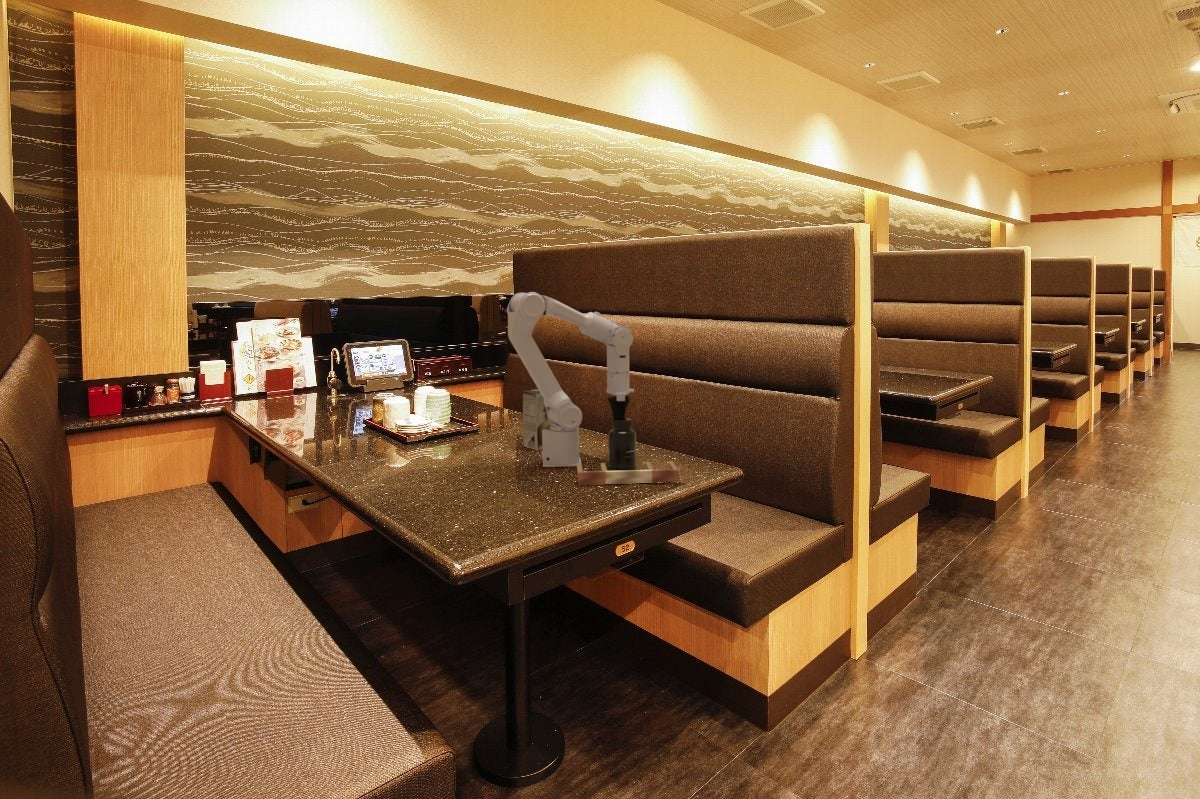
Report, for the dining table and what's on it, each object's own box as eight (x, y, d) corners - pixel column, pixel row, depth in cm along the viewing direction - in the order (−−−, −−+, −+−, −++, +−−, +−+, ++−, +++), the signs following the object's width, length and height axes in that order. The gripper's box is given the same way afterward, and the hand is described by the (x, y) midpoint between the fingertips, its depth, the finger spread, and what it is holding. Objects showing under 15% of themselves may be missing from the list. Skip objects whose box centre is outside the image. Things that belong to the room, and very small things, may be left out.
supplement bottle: (633, 471, 166) (633, 421, 164) (605, 470, 167) (605, 421, 166) (638, 464, 173) (637, 417, 171) (611, 463, 174) (610, 416, 172)
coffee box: (547, 442, 199) (546, 387, 197) (562, 446, 195) (561, 389, 192) (522, 448, 193) (521, 390, 190) (537, 451, 188) (536, 392, 186)
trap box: (578, 485, 154) (578, 472, 153) (577, 475, 162) (577, 463, 162) (678, 483, 155) (678, 470, 155) (672, 473, 163) (672, 461, 163)
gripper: (637, 375, 170) (637, 429, 172) (630, 369, 184) (631, 419, 186) (608, 375, 169) (608, 430, 171) (604, 369, 184) (604, 419, 186)
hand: (618, 424), depth 179 cm, fingers closed
